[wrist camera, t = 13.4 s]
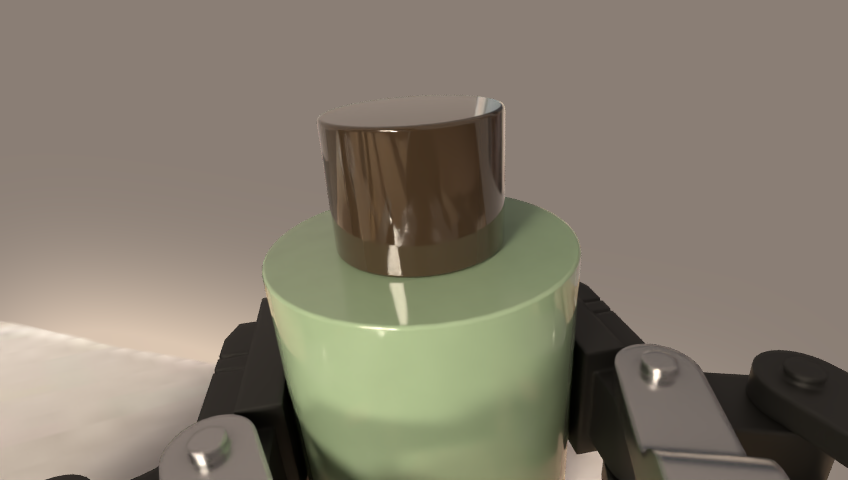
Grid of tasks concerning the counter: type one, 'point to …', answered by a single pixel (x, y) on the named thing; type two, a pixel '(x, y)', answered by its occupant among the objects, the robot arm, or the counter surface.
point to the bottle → (425, 303)
